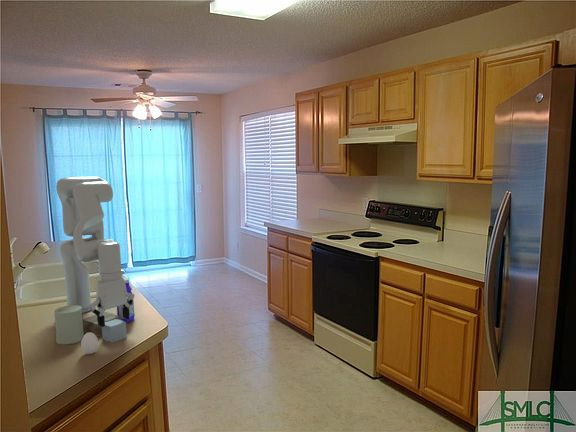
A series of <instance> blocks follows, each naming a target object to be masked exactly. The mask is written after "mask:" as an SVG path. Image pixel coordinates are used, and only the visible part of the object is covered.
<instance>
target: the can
mask: <svg viewBox="0 0 576 432" xmlns="http://www.w3.org/2000/svg"><path fill="white" fill-rule="evenodd" d="M53 313H54V321H55V323H54V324H55V336H56V340H55V341H56V342H55V343H56V344H58V345H72V344H76V343H78V342H80V341H82V338H83V337H84V335H85V334H84V333H85V332H84V331H83V321H82V319H83V313H82V307H81V306H78V305H70V306H67V305H64V306H60V307H57V308H56V309H54V310H53Z"/></svg>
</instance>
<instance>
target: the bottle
mask: <svg viewBox="0 0 576 432" xmlns="http://www.w3.org/2000/svg"><path fill="white" fill-rule="evenodd" d="M123 278H124V281H125V285H126V290H127V292H128V293H131V294H134V293H133V292H132V290H133V289H132V287H131V284H130V279H129V278H127V277H123ZM128 299H129V296H127V301H128ZM123 307H124V306H123V305H121V306H117V307H116V315H118V316H121V320H122V321H124V322H126V324H127V323H129V322H131V321H133V320H134V319H135V304H134V299H133V302H132V304H131V305H130V308H129V314H130V315H129V319H126V318H123V312H122V308H123Z"/></svg>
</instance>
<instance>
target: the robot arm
mask: <svg viewBox="0 0 576 432" xmlns="http://www.w3.org/2000/svg"><path fill="white" fill-rule="evenodd" d="M55 188H56V193H57V195H58V198H59V200H60V203H61V206H62V208H61V209H62V210H61V211H62V227H63V233H64V234H65V236H66V237H72V238H71V239H66V240H65V241H63V242H62V243H61V244H60V247H59V251H60V252H59V253H60V255H61V260H62V264H63V270H64V271H63V273H64V284H65V298H66V299H65V302H66V306H70V305H78V306H81V307H82V314H83V313H87V312H91V313H93V314H94V315H97V321H98V325H99V326H102V327H104V326H105V319H104V316H103V313H104V312H106V310H110V309H113V308H117V306H121V305H123V306H124V307H123V308H122V312H123V318H126V319H129V315H130V314H129V308H130V305H131V304H132V302H133V300H134V298H135V297H136V296H135V294H134V293H133V294H131V293H128V292H127V290H126V285H125V281H124V278H125V277H123V275H124V274H125V272H126V271H125V270H123V269H122V260H121V259H122V257H121V247H120V246H121V245H120V243H119V242H117V241H115V239H113V238H107V239H106V238H105V235H104V233H105V231H104V230H105V227H104V220H103V219H104V217H105V214H104V210H103V207H102V204H101V203H109V202H112V200H113V197H114V191H113V187H112V185H111V184H110V183H109V182H108V181H107V180H105V178H102V177H100V176H69V177H61V178H60V179H58V180H57V182H56V187H55ZM83 236H86V237H83ZM87 236H89V237H87ZM97 261H98V262H97ZM88 262H89V263H90V262H91V263H92V262H97V263H98V275H99V280H98V281H97V283H96V291H95V295H96V296H95V300H94V301H93V302H92V301H91V300H92V299H91V288H90V274H89V268H88V267H87V265H86V264H85V263H88ZM127 296H129V299H128V301H127Z"/></svg>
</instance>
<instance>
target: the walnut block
mask: <svg viewBox="0 0 576 432" xmlns="http://www.w3.org/2000/svg"><path fill="white" fill-rule="evenodd" d="M103 316H104V319H105V322H108V321H111V320H114V319H119V320H121V316H118V315H117V314H114V313H111V312H108V311H105V312H104V313H103ZM82 321H83V333H88V332H91V333H93V334H95V335H96V337H101V336H103V335H102V326H99V325H98V321H97V315H96V314H94V315H91V316H89V317H85V318H82Z"/></svg>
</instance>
